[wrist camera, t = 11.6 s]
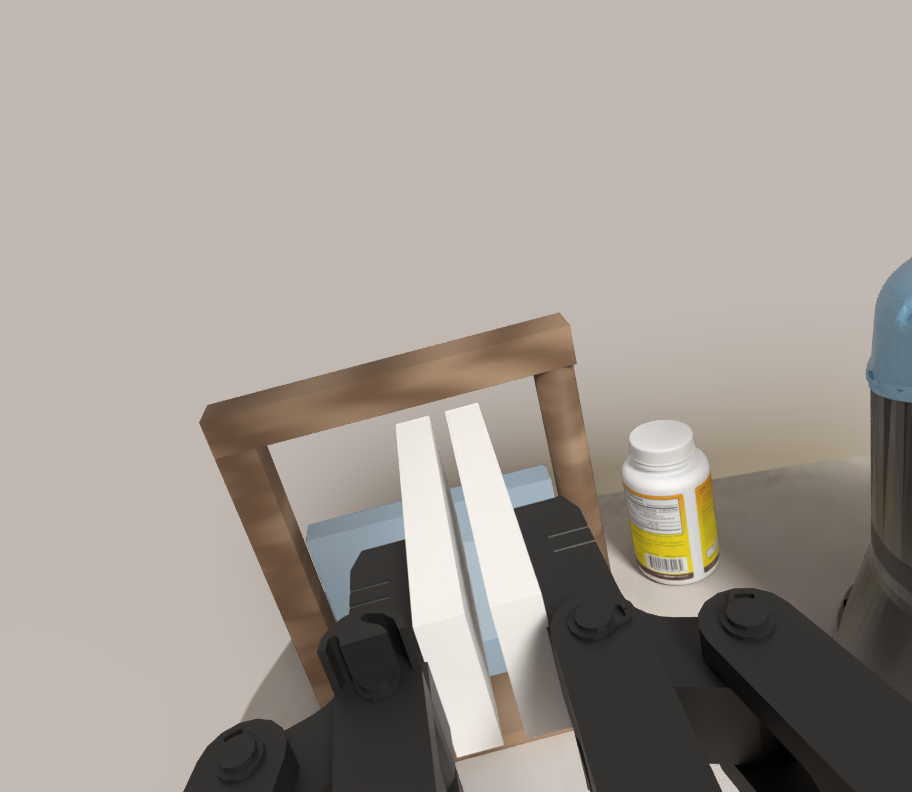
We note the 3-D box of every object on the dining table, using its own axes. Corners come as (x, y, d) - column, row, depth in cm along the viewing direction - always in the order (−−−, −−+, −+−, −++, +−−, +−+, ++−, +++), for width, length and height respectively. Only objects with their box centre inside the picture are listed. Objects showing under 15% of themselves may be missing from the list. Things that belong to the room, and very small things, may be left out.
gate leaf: (580, 633, 45) (544, 464, 40) (587, 651, 43) (550, 478, 38) (370, 687, 45) (308, 525, 40) (370, 706, 43) (305, 541, 38)
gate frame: (606, 613, 48) (545, 295, 39) (649, 709, 41) (587, 346, 32) (340, 684, 48) (218, 381, 39) (336, 793, 41) (185, 452, 32)
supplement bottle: (696, 528, 54) (682, 404, 50) (736, 574, 49) (723, 440, 45) (623, 551, 53) (603, 428, 49) (656, 599, 48) (636, 467, 44)
